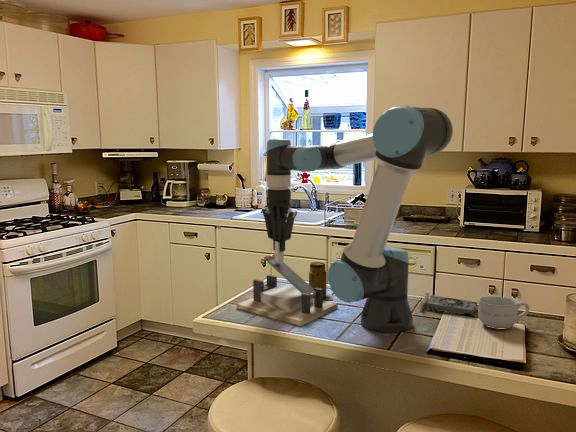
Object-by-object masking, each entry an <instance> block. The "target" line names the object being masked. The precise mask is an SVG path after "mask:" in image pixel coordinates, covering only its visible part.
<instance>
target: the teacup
mask: <svg viewBox="0 0 576 432" xmlns="http://www.w3.org/2000/svg"><path fill="white" fill-rule="evenodd" d="M477 301H478V302H477V309H478V310H477V311H478V318H479V319H478V320H479V321H480V322H481V323H482V324H483V325H484V324H485V325H487V326H490V327H494V328H509V327H510V328H511V327H513V326H514V325H515V324H516V322H518V321H519V320H520V319H522V318H523V317H525V316H527V315H528V314H529V313H530V306H529V305H530V304H528V303H527V302H524V301H517V300H516V299H513V298H510V297H505V296H499V295H498V296H497V295H489V296H480V297H478V299H477ZM523 306H524V307H525V310H524V311H523V312H522V313H520V314H518V311H519V308H521V307H523ZM485 325H484V326H485ZM510 328H509V329H510Z"/></svg>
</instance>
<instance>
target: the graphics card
mask: <svg viewBox="0 0 576 432" xmlns="http://www.w3.org/2000/svg"><path fill="white" fill-rule="evenodd" d="M419 307H420V309H419V312H420V311H421V310H422V311H425V310H427V311H428V310H431V309H433V310H432V312H440V311H447V312H454V313H459V314H458V315H460V314H464V315H465V314H470V315H473V314H474V313H475V311H477V307H478V302H477V301H473V300H466V299H459V298H452V297H446V296H440V295H439V296H438V295H434V294H433V295H430V293H429V292H425V296H424V298H422V300H421V302H420V305H419ZM424 309H425V310H424ZM435 310H436V311H435ZM422 311H421V312H422ZM447 312H446V313H447Z"/></svg>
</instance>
